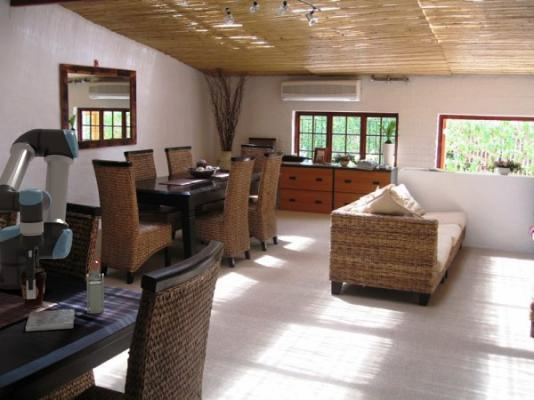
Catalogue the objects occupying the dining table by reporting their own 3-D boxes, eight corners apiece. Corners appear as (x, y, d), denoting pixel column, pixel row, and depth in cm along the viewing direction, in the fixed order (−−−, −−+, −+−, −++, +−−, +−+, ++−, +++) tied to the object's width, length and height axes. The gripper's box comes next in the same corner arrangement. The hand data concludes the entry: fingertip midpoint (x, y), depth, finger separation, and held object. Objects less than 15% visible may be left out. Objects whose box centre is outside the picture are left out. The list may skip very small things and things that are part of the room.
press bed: (30, 316, 195) (30, 311, 195) (74, 313, 199) (74, 309, 199) (25, 331, 182) (25, 326, 182) (72, 328, 186) (72, 323, 186)
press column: (87, 309, 203) (86, 273, 201) (103, 308, 205) (103, 273, 203) (87, 313, 199) (86, 277, 198) (104, 312, 201) (103, 276, 199)
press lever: (89, 283, 200) (89, 275, 202) (100, 282, 201) (100, 274, 203) (89, 268, 188) (89, 260, 189) (100, 268, 189) (100, 259, 190)
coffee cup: (37, 310, 201) (36, 274, 199) (15, 308, 202) (14, 272, 200) (51, 303, 209) (50, 267, 207) (30, 300, 211) (29, 266, 209)
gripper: (24, 227, 213) (25, 283, 215) (15, 241, 189) (17, 304, 192) (46, 226, 215) (47, 282, 218) (40, 240, 191) (41, 302, 194)
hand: (33, 292), depth 205 cm, fingers open, 13 cm apart
